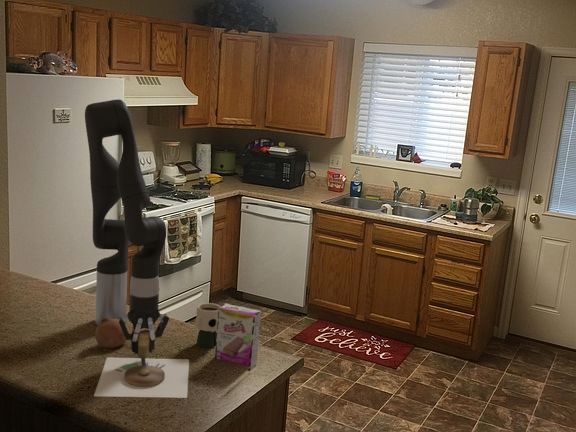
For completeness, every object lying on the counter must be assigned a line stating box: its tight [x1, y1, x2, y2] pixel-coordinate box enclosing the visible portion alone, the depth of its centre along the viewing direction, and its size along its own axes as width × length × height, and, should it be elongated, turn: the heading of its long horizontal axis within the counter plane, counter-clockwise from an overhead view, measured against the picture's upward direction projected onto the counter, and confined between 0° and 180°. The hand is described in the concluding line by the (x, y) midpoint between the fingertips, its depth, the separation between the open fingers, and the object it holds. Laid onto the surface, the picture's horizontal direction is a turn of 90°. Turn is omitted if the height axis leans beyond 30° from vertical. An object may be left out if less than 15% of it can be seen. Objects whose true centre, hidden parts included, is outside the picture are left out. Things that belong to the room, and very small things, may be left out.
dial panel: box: [93, 357, 190, 399], centre depth 165 cm, size 22×22×2 cm
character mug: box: [194, 302, 222, 349], centre depth 188 cm, size 11×7×13 cm, turn 147°
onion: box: [94, 317, 130, 349], centre depth 183 cm, size 10×9×10 cm
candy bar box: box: [214, 303, 262, 371], centre depth 179 cm, size 11×5×16 cm, turn 71°
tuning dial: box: [125, 328, 165, 387], centre depth 166 cm, size 17×10×8 cm, turn 15°
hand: (142, 351), depth 173 cm, fingers open, 3 cm apart
